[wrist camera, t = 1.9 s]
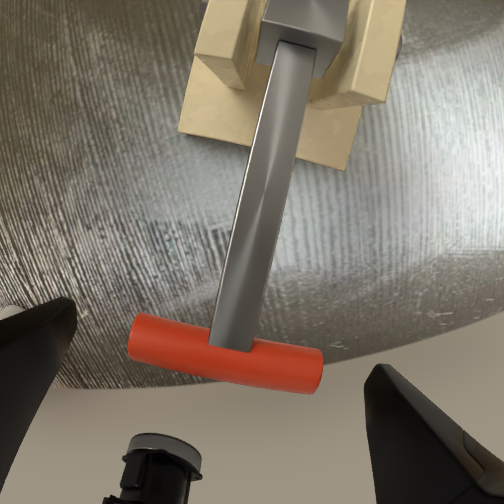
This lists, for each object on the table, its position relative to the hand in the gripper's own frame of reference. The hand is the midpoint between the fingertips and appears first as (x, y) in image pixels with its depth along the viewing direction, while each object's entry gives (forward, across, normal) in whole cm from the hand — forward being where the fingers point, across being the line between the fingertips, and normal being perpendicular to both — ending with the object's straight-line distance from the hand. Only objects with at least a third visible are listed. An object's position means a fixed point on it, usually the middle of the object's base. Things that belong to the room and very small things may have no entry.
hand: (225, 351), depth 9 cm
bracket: (+11, 0, -10) cm, 15 cm away
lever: (+3, 0, -5) cm, 5 cm away
